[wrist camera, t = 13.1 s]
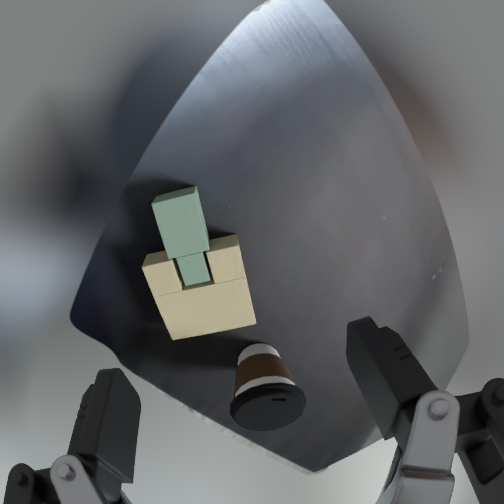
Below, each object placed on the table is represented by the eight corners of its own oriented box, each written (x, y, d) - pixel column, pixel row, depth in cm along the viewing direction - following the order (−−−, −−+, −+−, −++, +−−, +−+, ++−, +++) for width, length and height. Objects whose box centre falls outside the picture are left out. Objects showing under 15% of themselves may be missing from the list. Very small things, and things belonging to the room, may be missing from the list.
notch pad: (146, 254, 37) (141, 267, 34) (236, 233, 38) (238, 245, 35) (174, 324, 43) (172, 340, 40) (253, 308, 43) (256, 323, 40)
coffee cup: (233, 327, 44) (242, 388, 33) (299, 335, 47) (321, 392, 36) (218, 373, 48) (222, 431, 38) (277, 379, 51) (291, 432, 40)
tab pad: (156, 195, 34) (150, 203, 31) (196, 185, 34) (194, 192, 31) (180, 273, 39) (178, 287, 36) (216, 265, 39) (217, 279, 36)
